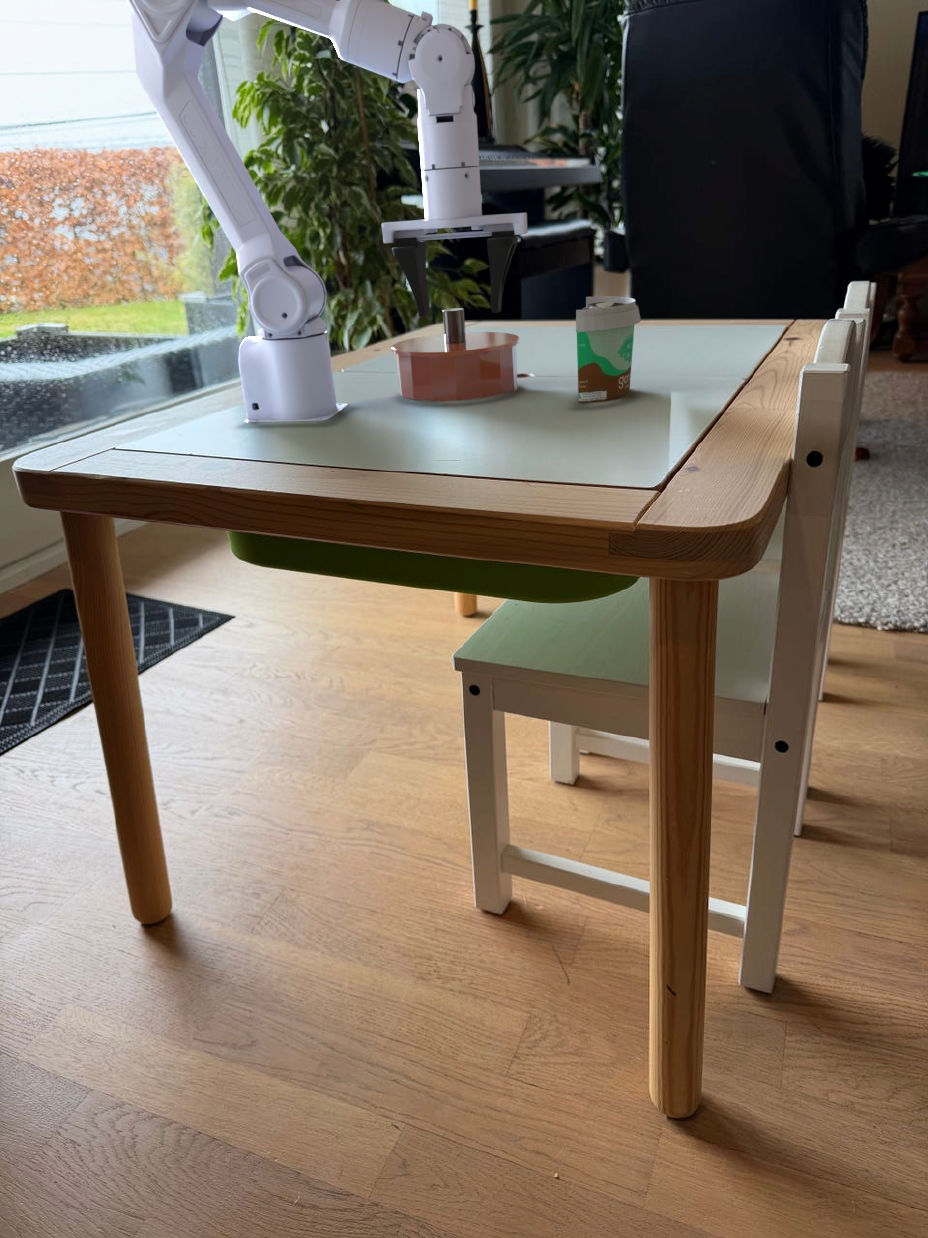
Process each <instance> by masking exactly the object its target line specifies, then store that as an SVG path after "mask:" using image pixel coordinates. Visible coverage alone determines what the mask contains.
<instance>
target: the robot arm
mask: <svg viewBox="0 0 928 1238" xmlns="http://www.w3.org/2000/svg"><path fill="white" fill-rule="evenodd" d="M126 2H127V6H128V8H129V12H130V17H131V18H130V19H131V28H132V39H133V49H134V62H135V71H136V76H137V78H138V80H139V83H140V85H141V87H142V88H143V90H144V92H145V95H147V98H148V99H149V101H150V103H151V105H152V106H153V108H154V110H155V112H156V114H157V115H158V118H159V119H160V120H161V122H162V124H163V126H164V127H165V129H166V131H167V134H168V135H169V136H170V139H171V141H172V142H173V143H174V145H175V147H176V149H177V151H178V152H179V154H180V156H181V158H182V159H183V161H184V163H185V165H186V166H187V168H188V170H189V172H190V173H191V176H192V178H193V179H194V181H195V183H196V184H197V186H198V188H199V190H200V192H201V193H202V195H203V196H204V199H205V201H206V202H207V204H208V206H209V208H210V209H211V212H212V213H213V215H214V216H215V219H216V220H217V221H218V224H219V226H220V227H221V229H222V230H223V232H224V234H225V236H226V238H227V240H228V241H229V243H230V244H231V247H232V249H233V251H234V252H235V254H236V260H237V261H236V262H237V272H238V275H239V277H240V279H241V281H242V283H243V285H244V287H245V290H246V293H247V304H248V309H249V313H250V315H251V317H252V319H253V321H254V322H255V323H256V324H257V325H258V326H259V327H260V328H259V329H258V330H257V331H258V336H257V335H255V336H248V337H244V339H243V340H242V341H241V343H240V345H239V348H238V357H237V360H238V363H237V364H238V371H239V378H240V384H241V390H242V397H243V402H244V409H245V414H246V415H245V416H246V419H245V420H244V423H264V422H270V423H271V422H307V421H308V422H309V421H311V422H312V421H327V420H329V419H331V418H332V417H334V416H335V415H337V414H338V413H340V412H341V411H342V410H344V409H345V408H346V407H348V406H349V405H350V404H349V403H337V397H336V388H335V381H334V380H335V379H334V373H333V364H332V357H331V356H332V355H331V348H330V339H329V331H328V326H327V324H326V323H324V321H323V319H322V318H321V315H322V313H323V312H324V309H326V304H327V298H328V297H327V289H326V285H325V283H324V280H323V278H322V277H321V276H320V275H319V273H318V272H317V271H316V270H314V269H313V268H312V267H311V266H309V265H308V264H307V263H305V261H304V260H303V259H302V258H301V255H300V254H299V253H298V250H297V248H296V247H295V246H294V245H293V244H292V243H291V241H290V240H289V239H288V238H287V237H286V236H285V235H284V234H283V232H282V231H281V230H280V228H279V227H278V224H277V223H276V221H275V219H274V217H273V215H272V214H271V212H270V210H269V208H268V206H267V204H266V202H265V200H264V198H263V197H262V195H261V193H260V191H259V189H258V188H257V185H256V184H255V181H253V178H252V177H251V175H250V173H249V171H248V169H247V167H246V166H245V163H244V162H243V160H242V158H241V156H240V155H239V153H238V151H237V149H236V147H235V145H234V143H233V141H232V140H231V138H230V136H229V134H228V132H227V130H226V129H225V126H224V125H223V123H222V121H221V119H220V117H219V115H218V114H217V112H216V110H215V108H214V106H213V105H212V103H211V101H210V99H209V97H208V95H207V93H206V92H205V90H204V88H203V86H202V84H201V82H200V81H199V72H200V69H201V65H202V61H203V58H204V54H205V51H206V48H207V46H208V45H209V44H210V42H212V41H211V40H212V39H213V38H214V36H215V35H216V33H217V32H218V31H219V29H220V27H221V26H222V24H223V22H224V20H225V18H227V19H229V20H231V21H233V22H234V21H238V20H240V19H243V18H244V17H246V16H248V15H251V14H253V13H257V14H259V15H262V16H264V17H265V16H266V17H268V18H271V19H273V20H277V21H280V22H283V23H285V24H288V25H291V26H293V27H297V28H299V29H302V30H305V31H308V32H311V33H314V34H316V35H319V36H322V37H325V38H328V39H330V40H331V42H332V43H333V46H334V48H335V50H336V53H337V55H338V58H340V60H342V61H344V62H346V63H349V64H352V65H355V66H357V67H359V68H362V69H364V70H367V71H370V72H372V73H375V74H377V75H380V76H382V77H385V78H388V79H390V80H393V81H395V82H398V83H400V84H405V83H408V82H410V81H414V82H415V84H416V85H417V86H418V87H419V88H418V89H417V101H418V102H417V104H418V117H417V129H418V130H417V131H418V142H419V157H420V169H421V183H422V195H423V209H424V219H415V220H414V219H413V220H411V219H410V220H399V221H386V222H382V223H381V231H382V241H383V244H393V247H392V248H391V252H392V254H393V257H394V259H395V260H396V261H397V263H398V265H399V267H400V269H401V270H402V272H403V274H404V276H405V278H406V281H407V283H408V286H409V287H410V290H411V293H412V296H413V299H414V302H415V305H416V306H415V307H416V309H417V313H418V317H426V316H428V315H430V298H429V289H428V283H427V282H428V281H427V241H432V240H433V241H434V240H436V241H437V240H446V239H447V240H449V239H465V238H467V239H468V238H480V237H490V238H487V239H486V247H487V255H488V257H487V258H488V266H489V276H490V313H491V314H498V313H500V312H501V311H502V303H503V302H502V301H503V294H504V289H505V283H506V279H507V275H508V272H509V267H510V265H511V262H512V259H513V257H514V253H515V250H516V248H517V245H518V242H519V238H518V236H520V235H527V234H528V213H527V212H518V213H517V212H515V213H499V214H498V213H497V214H484V215H483V209H482V208H483V207H482V206H483V205H482V189H481V187H482V186H481V173H480V154H479V153H480V152H479V133H478V116H477V114H476V112H475V109H474V108H475V104H476V96H475V92H474V90H473V86H472V84H471V83H472V80H473V79H474V75H475V68H476V63H475V62H476V61H475V60H476V59H475V55H474V52H473V50H472V47H471V45H470V43H469V40H468V38H466V36H465V35H464V33H463V32H462V31H461V30H459V29H458V28H457V27H455V26H454V25H451V24H448V23H436V24H433V21H434V16H433V15H432V13H429V12H427V11H425V10H422V11H421V14H420V15H418V14H416V13H413V12H411V11H408V10H405V9H403V8H401V7H398V6H396V5H393V4H392V3H391V4H390V3H388V2H385V0H126ZM468 227H471V230H472V231H463V232H462V231H461V232H460V231H459V232H448V233H445V232H444V233H437V232H439V230H440V229H455V228H468ZM438 229H439V230H438Z"/></svg>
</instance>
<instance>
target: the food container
mask: <svg viewBox="0 0 928 1238" xmlns="http://www.w3.org/2000/svg"><path fill="white" fill-rule="evenodd" d="M575 316H576V317H575V333H576V357H577V359H576V360H577V388H578V389H577V390H578V391H577V393H578V395H577V396H578V404H593V403H594V404H595V403H603V402H608V401H614V400H615V401H616V400H618V399H622V398H625V397H627V396H628V395H630V392H631V391H630V390H631V378H632V377H631V375H632V363H633V349H634V335H635V325H638V324H639V323H641V315H640V309H639V305H637V304H636V299H635V298H632V297H629V296H628V297H627V296H613V295H612V296H611V295H610V296H609V295H608V296H607V295H604V296H603V295H602V296H599V295H597V296H586V297H585V307H582V309H576V310H575Z"/></svg>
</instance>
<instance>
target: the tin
mask: <svg viewBox="0 0 928 1238" xmlns="http://www.w3.org/2000/svg"><path fill="white" fill-rule="evenodd" d="M517 361H518V360H517V345H515V346H513V347H510V348H507V349H503V350H498V351H493V352H487V353H480V354H472V355H462V356H447V357H413V356H404V355H399V354H395V363H396V374H397V380H398V381H397V382H398V383H397V384H398V393H399V395H400V396H401V398H405V399H408V400H412V401H422V402H423V401H424V402H459V401H468V400H478V399H484V398H490V397H495V396H499V395H504V394H506V393H515V392H517V391H518V385H519V384H518V363H517Z"/></svg>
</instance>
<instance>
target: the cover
mask: <svg viewBox="0 0 928 1238" xmlns="http://www.w3.org/2000/svg"><path fill="white" fill-rule="evenodd" d="M442 321H443V322H442V324H443V333H440V334H439V333H437V334H430V335H423V336H418V337H413V338H407V339H404V340H401V341H398V342H396V343H394V344H392V345H391V351H392V353H393V354H395V355H396V354H399V355H404V356H413V357H447V356H462V355H472V354H480V353H487V352H493V351H498V350H503V349H507V348H510V347H513V346H515V345H516V346H517V345H519V344H520V336H518V335H516V334H514V333H510V332H509V333H508V332H500V331H468V332H467V331H466V323H465V322H466V321H465V309H464V308H463V307H455V308H446V309H443V310H442Z"/></svg>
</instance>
